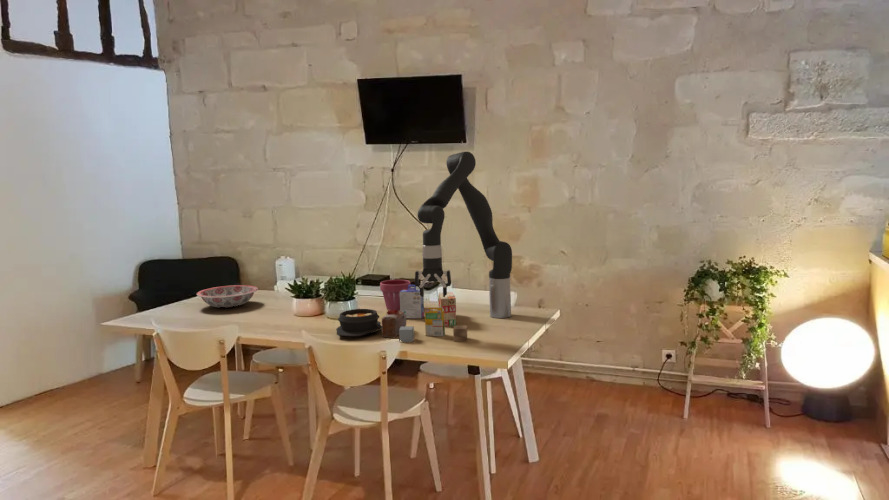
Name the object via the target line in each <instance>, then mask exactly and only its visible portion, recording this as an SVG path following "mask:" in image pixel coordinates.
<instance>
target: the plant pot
mask: <svg viewBox="0 0 889 500" xmlns="http://www.w3.org/2000/svg"><path fill="white" fill-rule="evenodd" d="M408 285H412V283H411V281H410V280H407V279H387V280H383V281H380V283H379V289H380V292H382V296H383V300H384V303H385V307H386V310H387V311H388V310H389V311H390V310H393V311H394V310H399V311H400V291H402V290H407V289H408ZM409 288H412V286H410V287H409Z"/></svg>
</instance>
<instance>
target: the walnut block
mask: <svg viewBox="0 0 889 500" xmlns="http://www.w3.org/2000/svg"><path fill="white" fill-rule="evenodd" d="M467 341H468V325H456V326H453V342H467Z"/></svg>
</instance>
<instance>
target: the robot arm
mask: <svg viewBox="0 0 889 500" xmlns="http://www.w3.org/2000/svg"><path fill="white" fill-rule="evenodd" d="M476 163H477V162H476V158H475V155H474V153H472V152H470V151H461V152H457V153H453V154H451V155H449V156H447V158H446V163H445V164H446V168H447V171H448V173H449V175H448V176H447V177H446V178H445V179H444V180H443V181H442V182H441V183H440V184H439V185H438V186H437V187H436V189H435V191H434V192H433V194H432V196H430V197H429V198H428V199H426V200H425V201H424V202H423V203H422V204H421V205H420V207H419V208H418V210H417V219H418V221H419V222H420V223H423V224H430V225H431V224H432V225H431V228H429V229H425V230H424V231H423V232H422V253H421V254H422V255H421V256H422V271H421V270H416V271H415V273H414V285H415V286H416V288H417V287H418V288H419V290H420V296H422V297H425V290H424V289H425V288H424V286H425V284H426V283H427V282H428V283H432V282H433V283H437V282H439V283H440V284H441V286H442V293H443V297H445V295H447V292H448V291H447V290H448V287H451V286H452V274H451V270H449V269H448V270H443V253H442V251H443V250H442V244H441V243H442V242H441V241H442V239H441V237H442V229H443V225H444V221H445V211H444V209H445V208H446V207H447V206H448V204H449V203H450V201H451V199H452V198H453V196H454V194H455V193H456V191H457V190H458V191H459V193H460V195H461V198H462V199H463V201H464V204H465V207H466V209H467V211H468V214H469V215H470V218H471V220H472V222H473V224H474V226H475V229H476V231H477V233H478V235H479V238H480V241H481V244H482V248H483V251H484V253H485V256H486V257H487V258H488V259H489V260H490V261H492V262H493V263H492V269H491V270H489V272H488V289H489V316H490V317H491V318H493V319H495V318H496V319H503V318H506V319H507V318H511V317H512V302H511V301H512V300H511V296H512V295H511V273H512V269H513V251H512V246H511V245H510V243H508V242H506V241H502V240H500V238H498V235H497V234H496V232H495V230H494V225H493V218H494V217H493V211H492V207H491V206H490V204H489V202H488V199H487V197H486V196H485V195H484V194H483V193H482V192H481V191H479V190H478V188H476V187H475V186H474V185H473V184H472V183H471V182H470V181H469V179H468V177H469V176H470V175H471V174H472V173H473V171H475V169H476V168H475V167H476V165H477V164H476ZM421 275H422V276H423V277H424V279H423V280H422V281H421V282H419V280H420V277H421ZM443 275H444V276H445V277H446V279H447V282H446V281H444V279H443V278H442V277H443Z"/></svg>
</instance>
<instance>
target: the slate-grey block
mask: <svg viewBox="0 0 889 500" xmlns="http://www.w3.org/2000/svg"><path fill="white" fill-rule="evenodd" d="M414 329H415V328H414V326H407V325H406V326H405V327H400V329H399V334H398V335H399V336H398V337H399V341H400V340H401V341H402V342H401V343H413V342H414V340H415V331H414Z"/></svg>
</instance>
